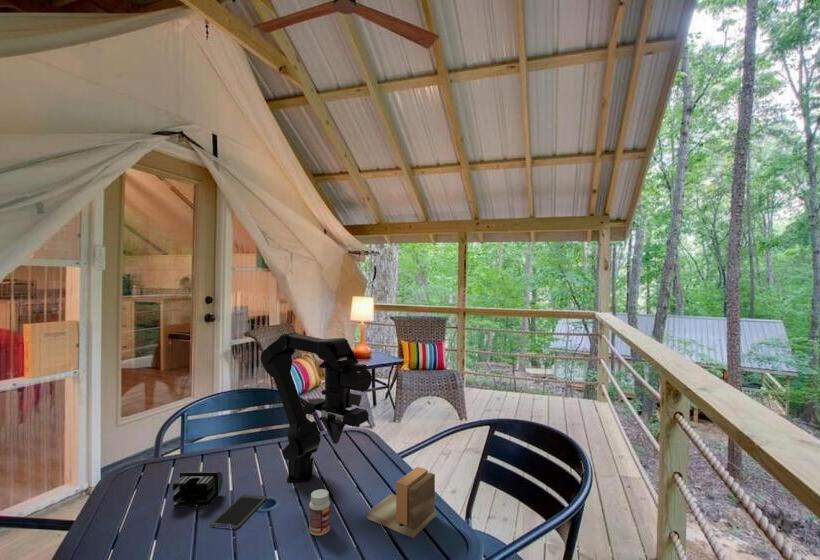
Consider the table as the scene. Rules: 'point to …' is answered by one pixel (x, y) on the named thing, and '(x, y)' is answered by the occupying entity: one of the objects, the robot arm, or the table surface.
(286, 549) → the table surface
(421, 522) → the pipe board
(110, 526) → the table surface
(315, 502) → the pill bottle
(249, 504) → the cell phone
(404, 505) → the wooden board
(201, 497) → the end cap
